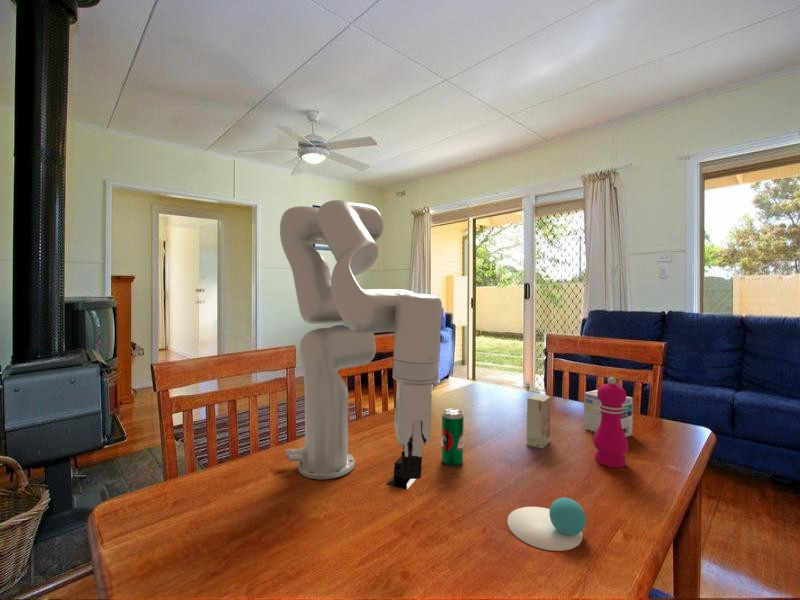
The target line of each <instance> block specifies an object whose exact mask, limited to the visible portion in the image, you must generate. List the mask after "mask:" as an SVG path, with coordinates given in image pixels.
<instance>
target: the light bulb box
mask: <svg viewBox="0 0 800 600" xmlns="http://www.w3.org/2000/svg"><path fill="white" fill-rule="evenodd" d="M597 391H598V389H595V390H590V391H586V392H584V396H583V397H584V398H583V399H584V405H583V406H584V407H583V408H584V409H583V410H584V412H583V413H584V414H583V429H584V428H585V429H584V430H587V429H588V430H587V431H590V430H591V432H593V431H594V433H596V431H597V429H598V427H599V425H600V423H601V416H602V415H601V410H600V409H599V407H600V405H599V404H600V403H601V401H600V400H599V399H598V396H597ZM633 402H634V398H633V397H631V396H627V395H626V401H625V402H624V403H623V404H622V406H623V407H624V408H623V411H624V412H623V413H621V425H622V428H623V431H624V433H625V436H626V437H627V438H628V436H629V437H631V435H632V436H633V413H634V412H633V408H634V407H633V405H634V403H633Z"/></svg>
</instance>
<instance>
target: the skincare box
mask: <svg viewBox="0 0 800 600" xmlns="http://www.w3.org/2000/svg"><path fill="white" fill-rule="evenodd" d="M551 398H552V397H551V396H549V395H542V394H537V393H534V394H533V395H531V396H529V397H528V398H527V400H526V401H527V405H526V406H527V407H526V445H528V446H531V447H534V448H539V449H544V448H545V447H546V446H547V445H548V444H549V443H550V440H551V438H550V436H551Z"/></svg>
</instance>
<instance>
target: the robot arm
mask: <svg viewBox="0 0 800 600" xmlns="http://www.w3.org/2000/svg"><path fill="white" fill-rule="evenodd" d="M383 231H384V220H383V216H382V215H381V212H380V211H379V210H378V209H377V208H376V207H375V206H373V205H371V204H366V203H362V202H361V203H360V202H359V203H358V202H355V201H354V202H352V201H348V200H342V199H341V200H339V199H335V200H329V201H326V202H324V203H323V204H322V205H321V206H319V207H316V206H307V205H306V206H303V205H301V206H299V205H298V206H293V207H289V208H288V209H287V210H285V211H284V212H283V214H282V215H281V219H280V224H279V236H280V242H281V247H282V249H283V252H284V255H285V257H286V259H287V261H288V263H289V267H290V269H291V271H292V276H293V277H292V278H293V283H294V288H295V289H294V290H295V294H296V297H297V298H296V300H297V303H298V308H299V309H298V310H299V313H300V316H301V318H302V319H303V321H304V322H306V323H307V324H311V325H327V324H328V325H329V324H343V326H332V327H331V326H330V327H320V328H316V329H312V330H309V331H308V332H307V333H305V334H304V335H303V336H302V338H301V339H300V344H299V352H300V353H299V354H300V359H301V365H302V371H303V372H302V373H303V379H304V380H303V381H304V382H303V383H304V445H303V446H301V447H299V448H286V449H285V453H284V454H285V459H288V461H289V462H298V465H297V470H298V472H299V473H300V475H302V476H303V477H304V478H305V477H306V478H307V479H312V480H313V479H314V480H331V479H336V478H341V477H343V476H345V475H347V474H349V473H350V472H351V471H352V470H354V468H355V464H356V462H355V458H354V456H353V455H352V454H350V453H349V446H348V445H349V444H348V443H349V442H348V441H349V439H348V438H349V431H348V429H349V428H348V427H349V426H348V425H349V422H348V421H349V419H348V418H349V415H348V414H349V413H348V412H349V411H348V410H349V407H348V406H349V405H348V403H349V401H348V400H349V396H348V394H349V392H348V387H347V384H346V381H344V379H343V378H342V376H341V375H340V374H339V372H338V371H339V370H343V369H347V368H355V367H361V366H365V365H368V364H369V363H371V362H372V360H373V359H374V358H375V355H376V349H377V345H376V344H377V343H376V338H375V334H377V333H386V332H387V333H393V332H394V333H393V334H394V335H393V354H392V355H393V357H392V358H393V360H392V379H393V380H395V381H396V382H397V384H396V393H395V394H396V395H395V396H396V397H395V410H394V412H395V413H394V431H395V434H396V440H397V443H398V445H400V446H402V450H401V456H402V459H401V474H402V478H403V479H416V480H419V479H421V478H422V467H423V466H422V463H423V461H422V460H423V454H422V453H423V445H424V446H427V445H428V444H429V443H430V438H431V425H432V424H431V423H432V397H433V395H432V388H433V387H432V385H433V384H434V383H436V382H438V380H439V373H440V372H439V370H440V352H441V350H440V349H441V334H442V332H441V331H442V314H443V313H442V312H443V305H442V304H443V303H442V300H441V298H440V297H439V296H437V295H434V294H429V293H417V292H414V291H412V290H408V289H401V288H396V289H395V288H393V289H392V288H391V289H390V288H368V289H367V288H365V289H364V288H362V287H361V286H360V284H359V283H358V281H357V280H356V278H355V277H356V276H359V275H360V274H362V273H364V272H365V271H367V270H368V269H370V268H372V266H373V265H374V264H375V262H376V260H377V259H378V256H379V247H378V245H377V241H378V240H379V239H380V238H381V236H382V234H383ZM313 244H314V245H324V246H328V247H329V250H330V252H331V254H332V255H333V257H334V259H335V261H336V263H335V265H334V267H333V270H332V274H331V272H330V266H329V265H328V263H327V260H326V259H325V258H324V256H323V255H322V254H321V253H320V252H319V251H318V250H317V249H316V248H315V247H314V246H313Z"/></svg>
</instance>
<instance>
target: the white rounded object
mask: <svg viewBox="0 0 800 600" xmlns="http://www.w3.org/2000/svg"><path fill="white" fill-rule="evenodd" d="M549 511H550V508H547V507H541V506H525V507H524V506H523V507H519V508H517V509H514V510H513V511H511V512H510V513H509V515H508V517H507V521H506V522H507V526H508V530H510V532H511V533H512V534H513V535H514V536H515V537H516V538H517V539H519V541H521V542H523V543H525V544H527V545H530V546H531V547H534V548H537V549H541V550H545V551H553V552H564V551H570V550H572V549H574V548H577V547H578V546H579V545H581V543H582V541H583V530H582V531H581V532H580V533H579V534H577V535H574V536H568V535H564V534H562V533H560V532H559V531H558V530H557V529H556V528H555V527H554V526H553V524H552V522H551V520H550V515H549Z"/></svg>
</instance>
